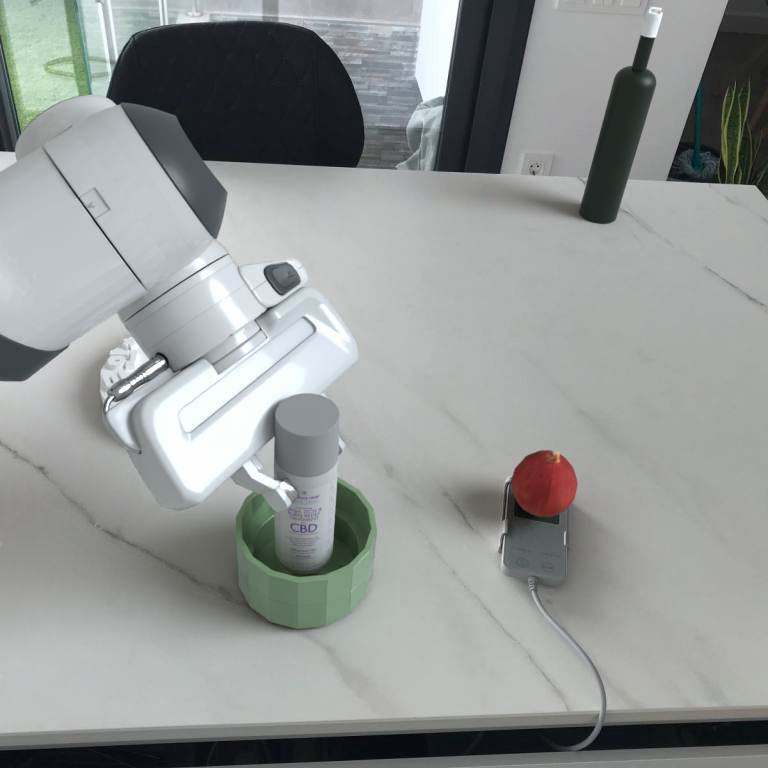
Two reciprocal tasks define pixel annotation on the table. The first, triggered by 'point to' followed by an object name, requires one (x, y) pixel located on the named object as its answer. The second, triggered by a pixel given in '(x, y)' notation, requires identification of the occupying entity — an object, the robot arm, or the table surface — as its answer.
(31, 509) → the table surface
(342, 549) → the green faceted pot
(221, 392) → the robot arm
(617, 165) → the wine bottle
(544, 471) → the onion
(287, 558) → the container
